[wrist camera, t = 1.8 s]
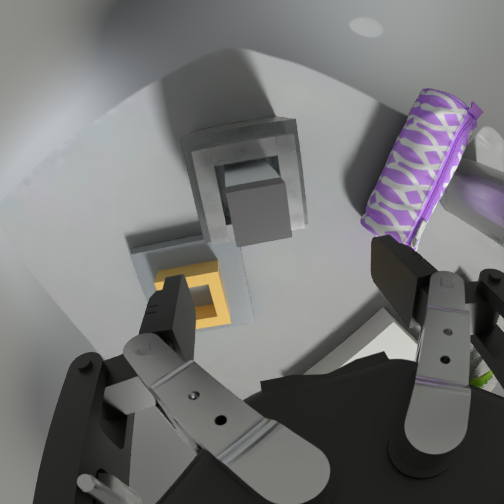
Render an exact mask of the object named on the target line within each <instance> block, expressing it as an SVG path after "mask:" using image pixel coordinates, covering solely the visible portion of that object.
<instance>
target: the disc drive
mask: <svg viewBox="0 0 504 504" xmlns="http://www.w3.org/2000/svg"><path fill="white" fill-rule="evenodd" d="M417 345H418V341H417V340H416V339H415V338H414V337H413V336H412V335H411V334H410V333H409V332H408V331H407V330H406V329H405V328H404V327H403V326H402V325H401V324H400V323H399V322H398V321H397V320H396V319H395V318H394V317H393V316H392V315H391V314H390V313H389V312H388V311H387V310H386V309H385V308H384V307H382V308H381V309H380V310H379V311H378V312H377V313H376V314H375V315H374V316H372V317H371V318H370V319H369V320H368V321H367V322H366V323H365V324H363V325H362V326H361V327H360V328H359V329H358V330H357V331H355V332H354V333H353V334H352V335H351V336H350V337H348V338H347V339H346V340H345V341H344V342H342V343H341V344H340V345H339V346H338V347H336V348H335V349H334V350H333V351H332V352H330V353H329V354H328V355H327V356H325V357H324V358H323V359H322V360H320V361H319V362H318V363H316V364H315V365H314V366H313V367H311V368H310V369H309V370H307V371H306V372H305V373H304V374H302V375H313V374H327V373H330V372H332V371H334V370H336V369H338V368H340V367H342V366H344V365H346V364H348V363H350V362H352V361H354V360H356V359H359V358H362V357H366V356H369V355H372V354H376V353H379V352H382V351H384V352H385V353H386V355H387V357H388V358H389V359H406V360H411V361H414V360H415V355H416V350H417Z"/></svg>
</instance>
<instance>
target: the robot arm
mask: <svg viewBox="0 0 504 504" xmlns="http://www.w3.org/2000/svg"><path fill="white" fill-rule="evenodd" d="M440 202H441V204H442V206H443V207H444V209H446V210H447V211H448V212H450V213H452V214H453V215H455V216H457V217H458V218H460V219H461V220H463V221H465V222H466V223H468V224H469V225H471V226H473V227H474V228H476V229H477V230H479V231H480V232H482V233H483V234H485V235H486V236H488V237H489V238H491V239H492V240H494V241H495V242H497V243H498V244H500V245H501V246H503V247H504V172H502V171H499V170H497V169H494V168H491V167H489V166H486V165H483V164H481V163H478V162H475V161H473V160H470V159H467V158H463V157H462V158H461V160H460V162H459V164H458V167H457V169H456V171H455V172H454V174H453V177H452V178H451V180H450V182H449V184H448V186H447V187H446V189H445V191H444V194H443V196H442V197H441V198H440ZM371 276H372V279H373V281H374V283H375V284H376V286H377V287H378V288H379V290H380V291H381V292H382V293H383V295H384V296H385V297H386V299H387V300H388V301H389V302H390V304H391V305H392V306H393V308H394V309H395V310H396V312H397V313H398V314H399V316H400V317H401V318H402V320H403V321H404V322H405V324H406V325H407V326H408V328H409V329H410V328H413V327H416V326H419V325H420V326H421V330H420V335H419V340H418V345H417V350H416V355H415V360H414V361H411V360H406V359H389V358H388V357H387V355H386V353H385V352H384V351H382V352H379V353H376V354H372V355H369V356H366V357H362V358H359V359H356V360H354V361H352V362H350V363H348V364H346V365H344V366H342V367H340V368H338V369H336V370H334V371H332V372H330V373H327V374H313V375H290V376H286V377H281V378H276V379H271V380H265V381H260V383H261V390H262V391H260V392H257V393H255V394H253V395H251V396H249V397H248V398H246V399H245V400H243V401H242V400H241V399H239V398H238V397H237V396H236V395H234V394H233V393H232V392H231V391H229V390H228V389H227V388H226V387H224V386H223V385H222V384H221V383H219V382H218V381H217V380H216V379H215V378H213V377H212V376H211V375H210V374H209V373H207V372H206V371H205V370H204V369H203V368H202V367H200V366H199V365H198V364H197V363H196V362H194V361H193V360H194V343H195V329H196V311H195V306H194V303H193V300H192V297H191V294H190V290H189V287H188V284H187V281H186V278H185V276H184V274H179V275H174V276H169V277H166V278H165V281H164V285H163V289H162V290H157V291H155V292H154V294H153V295H152V296H151V297H150V298H149V301H148V304H147V308H146V311H145V315H144V317H143V321H142V324H141V328H140V331H139V335H137V336H135V337H133V338H132V339H130V340H129V341H128V342H127V343H126V345H125V346H124V349H123V354H122V355H119V356H116V357H114V358H111V359H108V360H105V361H104V360H103V359H102V357H101V355H99V354H98V353H95V352H88V353H85V354H82V355H80V356H79V357H77V358H76V359H75V360H74V361H73V362H72V363H71V365H70V367H69V370H68V372H67V375H66V378H65V381H64V384H63V387H62V390H61V393H60V396H59V399H58V402H57V405H56V409H55V412H54V415H53V419H52V422H51V425H50V429H49V433H48V437H47V440H46V444H45V448H44V452H43V456H42V461H41V464H40V469H39V474H38V479H37V483H36V489H35V494H34V500H33V504H142V501H141V499H140V497H139V495H138V494H137V493H136V492H135V491H133V490H132V489H131V488H129V474H130V459H131V458H130V457H131V446H132V435H133V425H134V415H135V412H137V411H140V410H142V409H145V408H148V407H151V406H155V407H156V408H157V409H158V411H159V412H160V413H161V414H162V415H163V417H164V418H165V419H166V420H167V421H168V423H169V424H170V425H171V426H172V427H173V428H174V429H175V431H176V432H177V433H178V434H179V435H180V436H181V437H182V439H183V440H184V441H185V442H186V443H187V445H188V446H189V447H190V448H191V449H192V451H193V452H194V453H195V454H196V455H197V456H196V457H195V458H194V459H193V461H192V462H191V463H190V464H189V466H188V467H187V468H186V469H185V470H184V472H183V473H182V474H181V475H180V476H179V477H178V479H177V480H176V481H175V482H174V483H173V485H172V486H171V487H170V488H169V489H168V490H167V491H166V492H165V494H164V495H163V496H162V497H161V498H160V499H159V500H158V501H157V503H156V504H504V397H501V396H499V395H496V394H494V393H491V392H489V391H486V390H484V389H481V388H479V387H476V386H474V385H471V384H469V368H470V342H471V343H472V344H473V346H474V347H475V348H476V350H477V351H478V353H479V354H480V355H481V357H482V358H483V360H484V361H485V362H486V364H487V365H488V367H489V368H490V370H491V371H492V372H493V374H494V375H495V377H496V378H497V380H498V381H499V383H500V384H501V386H502V387H503V389H504V332H503V331H502V330H501V329H500V328H499V326H498V325H497V324H496V323H497V320H498V318H499V315H501V316H502V317H503V318H504V273H503V272H501V271H499V270H496V269H485V270H482V271H481V272H480V275H479V280H478V281H477V282H464V281H463V279H462V278H461V277H460V276H459V275H457V274H456V273H453V272H449V271H438V270H437V269H435V268H434V267H433V266H432V265H431V264H430V263H429V262H428V261H426V260H425V259H423V257H422V256H421V255H420V254H418V253H417V252H416V251H415V250H414V249H413V248H412V247H410V246H407V245H405V244H403V243H399V242H398V241H397V240H396V239H394V238H393V237H392V236H391V235H389V234H388V235H383V236H378V237H374V238H373V239H372V242H371Z"/></svg>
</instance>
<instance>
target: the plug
mask: <svg viewBox="0 0 504 504" xmlns="http://www.w3.org/2000/svg"><path fill="white" fill-rule="evenodd" d="M224 170H225V186H226V196H227V201H228V206H229V211H230V216H231V221H232V226H233V231H234V236H235V241H236V246H237V247H241V246H247V245H252V244H257V243H263V242H268V241H273V240H279V239H284V238H290V237H292V231H291V222H290V214H289V206H288V198H287V191H286V183H285V182H284V181H283V179H282V178H281V177H280V176H279V175H278V174H277V172H276V171H275V170H274V169H273V168H272V167H271V166H270V164H269V163H268V162H267V161H266V160H265V159H264V160H258V161H252V162H247V163H241V164H235V165H230V166H225V167H224Z"/></svg>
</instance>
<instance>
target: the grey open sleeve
mask: <svg viewBox="0 0 504 504" xmlns="http://www.w3.org/2000/svg"><path fill="white" fill-rule="evenodd" d="M181 142H182V147H183V151H184V156H185V161H186V165H187V170H188V174H189V179H190V183H191V188H192V192H193V196H194V201H195V205H196V209H197V214H198V218H199V222H200V226H201V230H202V234H203V238H204V243H209V242H211V243H212V245H216V244H221V243H226V242H231V241H235V236H234V231H233V226H232V221H231V216H230V211H229V206H228V201H227V196H226V186H225V170H224V167H225V166H230V165H235V164H241V163H247V162H252V161H258V160H264V159H265V160H266V161H267V162H268V163H269V164H270V166H271V167H272V168H273V169H274V170H275V171H276V172H277V174H278V175H279V176H280V177H281V178H282V179H283V181H284V182H285V183H286V191H287V198H288V206H289V214H290V222H291V230H296V229H302V228H305V225H306V224H308V217H307V207H306V197H305V188H304V179H303V170H302V162H301V154H300V146H299V139H298V131H297V124H296V119H292V118H284V117H269V118H262V119H255V120H249V121H243V122H237V123H231V124H226V125H220V126H215V127H210V128H205V129H200V130H196V131H191V132H190V133H189V134H187V135H186V136H184V137H183V138H182V139H181Z"/></svg>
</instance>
